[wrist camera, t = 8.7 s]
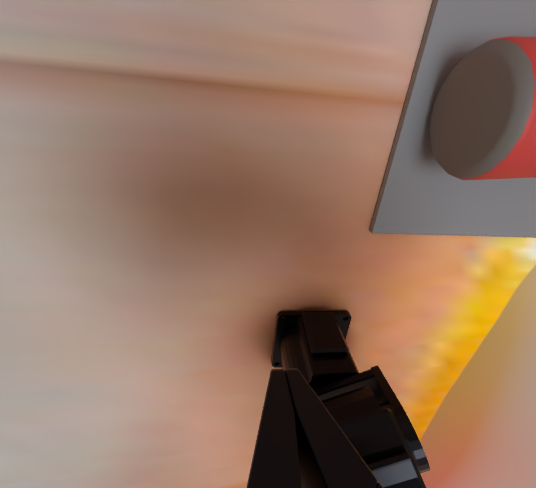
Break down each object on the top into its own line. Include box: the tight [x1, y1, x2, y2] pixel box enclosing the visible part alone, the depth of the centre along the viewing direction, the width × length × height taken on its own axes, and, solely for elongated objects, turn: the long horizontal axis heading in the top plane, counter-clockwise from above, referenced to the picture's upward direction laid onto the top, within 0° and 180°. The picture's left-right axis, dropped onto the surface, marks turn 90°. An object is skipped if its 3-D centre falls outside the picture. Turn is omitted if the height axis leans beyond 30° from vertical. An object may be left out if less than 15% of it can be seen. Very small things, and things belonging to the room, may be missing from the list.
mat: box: [370, 0, 536, 238], centre depth 19 cm, size 16×14×1 cm
